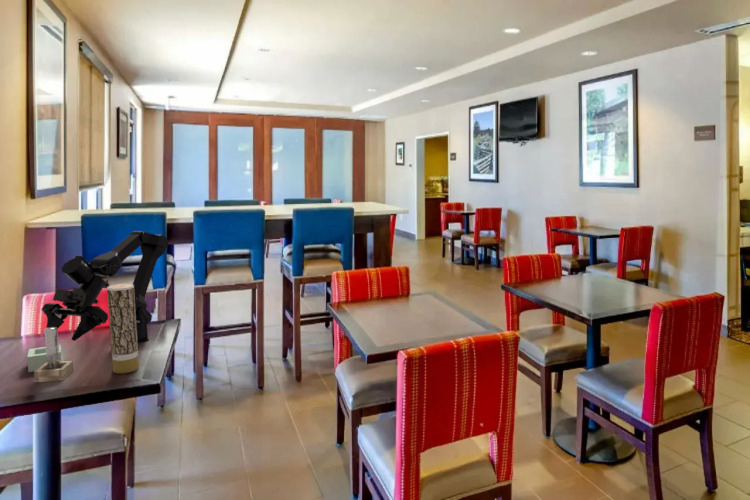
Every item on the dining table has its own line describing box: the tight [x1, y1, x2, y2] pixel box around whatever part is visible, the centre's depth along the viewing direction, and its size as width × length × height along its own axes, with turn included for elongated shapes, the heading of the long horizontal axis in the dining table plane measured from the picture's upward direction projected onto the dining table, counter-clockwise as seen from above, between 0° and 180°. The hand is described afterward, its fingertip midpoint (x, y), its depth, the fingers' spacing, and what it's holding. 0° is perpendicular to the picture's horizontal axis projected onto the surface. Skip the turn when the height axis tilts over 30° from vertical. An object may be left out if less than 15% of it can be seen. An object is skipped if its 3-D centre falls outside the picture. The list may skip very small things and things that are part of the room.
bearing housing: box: [33, 360, 74, 383], centre depth 134 cm, size 7×7×3 cm
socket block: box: [26, 344, 63, 373], centre depth 142 cm, size 8×8×4 cm
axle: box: [43, 327, 61, 370], centre depth 133 cm, size 3×3×14 cm
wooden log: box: [106, 283, 140, 375], centre depth 137 cm, size 7×7×25 cm
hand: (59, 338), depth 135 cm, fingers open, 9 cm apart
